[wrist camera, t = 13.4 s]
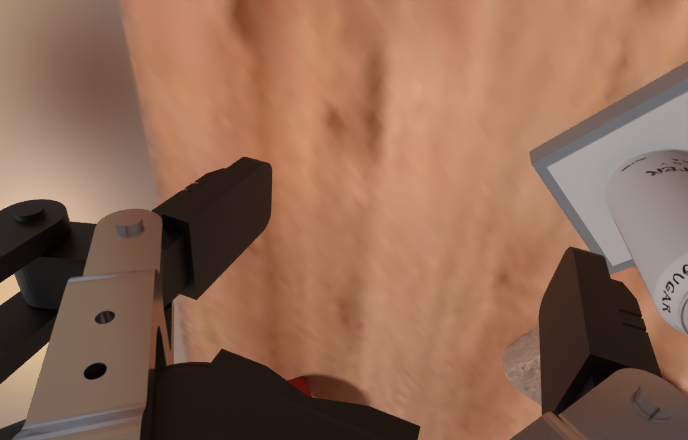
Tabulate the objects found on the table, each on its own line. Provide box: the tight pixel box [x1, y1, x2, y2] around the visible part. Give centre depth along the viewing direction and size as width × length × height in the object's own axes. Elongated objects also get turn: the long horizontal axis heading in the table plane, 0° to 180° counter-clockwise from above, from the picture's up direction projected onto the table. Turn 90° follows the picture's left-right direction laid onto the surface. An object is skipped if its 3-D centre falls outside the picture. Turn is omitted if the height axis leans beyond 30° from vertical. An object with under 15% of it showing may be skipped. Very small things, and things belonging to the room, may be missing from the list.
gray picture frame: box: [530, 62, 688, 275], centre depth 34 cm, size 12×12×3 cm
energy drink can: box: [605, 151, 688, 337], centre depth 26 cm, size 6×6×15 cm
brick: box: [504, 327, 542, 405], centre depth 44 cm, size 16×8×5 cm, turn 54°
